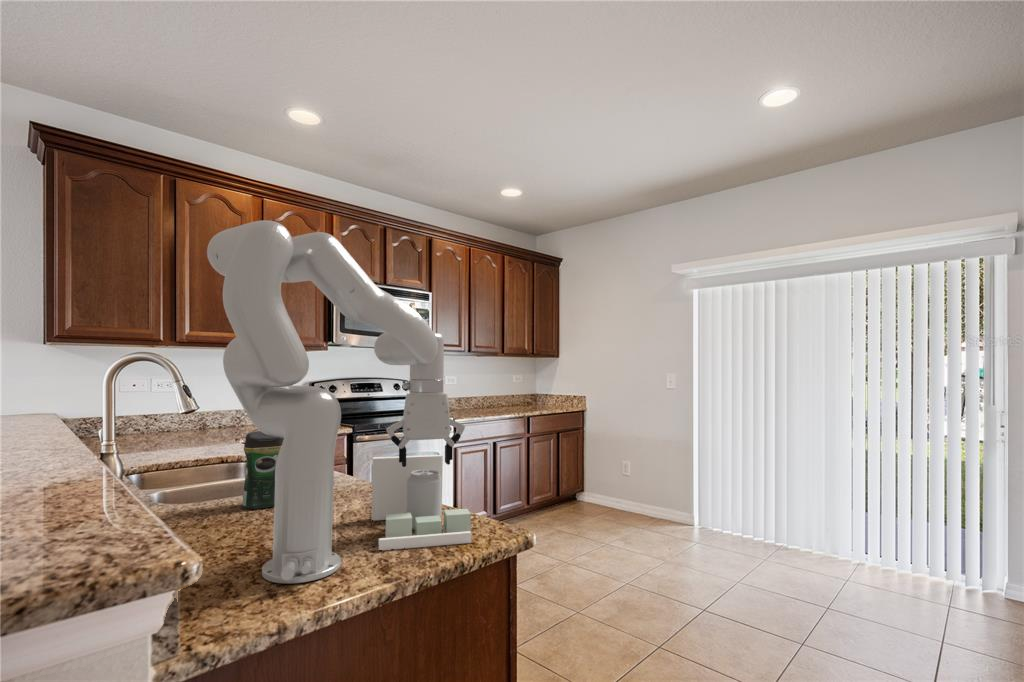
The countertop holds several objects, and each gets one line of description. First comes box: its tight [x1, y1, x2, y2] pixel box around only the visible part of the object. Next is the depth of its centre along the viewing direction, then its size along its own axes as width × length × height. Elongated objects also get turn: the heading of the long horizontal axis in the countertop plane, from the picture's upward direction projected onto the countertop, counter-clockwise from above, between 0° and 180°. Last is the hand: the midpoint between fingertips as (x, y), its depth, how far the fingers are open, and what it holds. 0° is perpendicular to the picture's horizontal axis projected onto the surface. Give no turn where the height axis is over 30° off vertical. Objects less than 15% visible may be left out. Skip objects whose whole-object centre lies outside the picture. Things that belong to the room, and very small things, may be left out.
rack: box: [371, 454, 472, 551], centre depth 111 cm, size 22×19×14 cm
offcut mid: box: [414, 516, 443, 536], centre depth 106 cm, size 4×5×4 cm
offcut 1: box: [384, 512, 413, 538], centre depth 104 cm, size 4×5×5 cm
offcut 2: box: [443, 508, 472, 533], centre depth 108 cm, size 4×5×5 cm
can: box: [407, 470, 442, 531], centre depth 114 cm, size 8×8×12 cm
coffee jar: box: [242, 430, 284, 510], centre depth 130 cm, size 10×8×19 cm
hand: (425, 464), depth 114 cm, fingers open, 9 cm apart
